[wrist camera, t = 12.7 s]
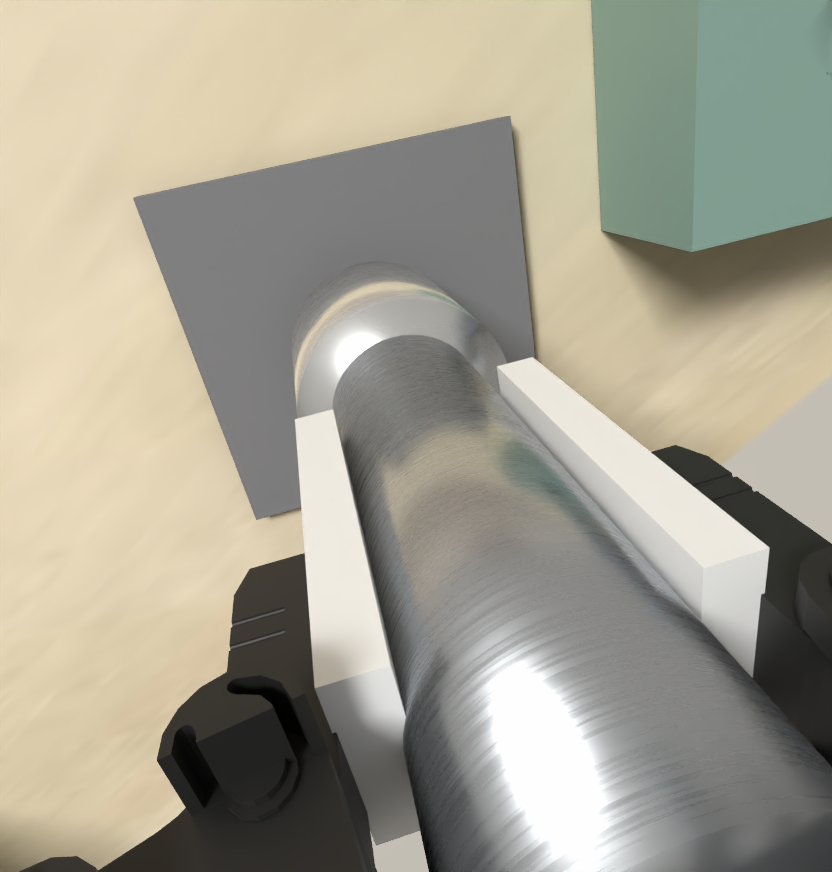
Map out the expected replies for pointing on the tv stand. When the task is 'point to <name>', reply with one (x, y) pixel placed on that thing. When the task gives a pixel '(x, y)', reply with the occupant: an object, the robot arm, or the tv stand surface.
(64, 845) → the tv stand surface
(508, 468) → the grey metallic waisted cylinder
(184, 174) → the tv stand surface
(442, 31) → the tv stand surface
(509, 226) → the mat
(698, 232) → the housing
